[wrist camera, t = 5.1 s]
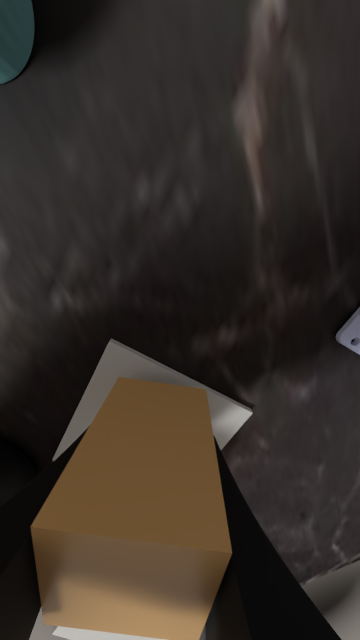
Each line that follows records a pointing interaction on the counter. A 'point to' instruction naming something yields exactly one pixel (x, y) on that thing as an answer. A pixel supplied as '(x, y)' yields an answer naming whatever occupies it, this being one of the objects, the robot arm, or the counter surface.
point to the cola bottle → (13, 471)
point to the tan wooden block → (136, 519)
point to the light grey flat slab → (138, 366)
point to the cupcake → (15, 37)
